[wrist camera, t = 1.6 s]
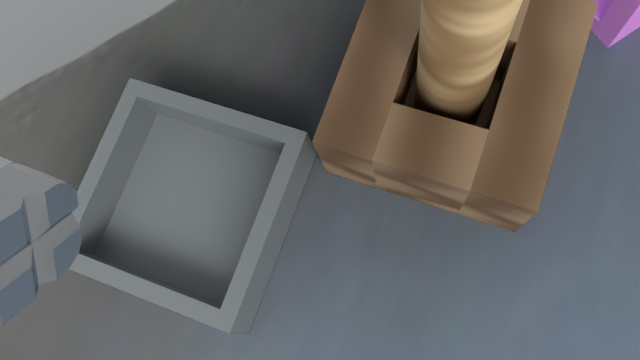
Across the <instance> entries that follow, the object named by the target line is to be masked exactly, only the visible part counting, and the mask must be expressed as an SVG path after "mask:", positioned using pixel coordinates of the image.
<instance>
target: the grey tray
mask: <svg viewBox="0 0 640 360" xmlns="http://www.w3.org/2000/svg"><path fill="white" fill-rule="evenodd" d="M316 155H317V151H316V149H315V147H314V145H313V143H312V141H311V139H310V137H309V135H308V133H307V132H305V131H302V130H299V129H295V128H292V127H289V126H286V125H282V124H279V123H276V122H273V121H269V120H266V119H263V118H259V117H256V116H253V115H250V114H246V113H243V112H240V111H237V110H233V109H230V108H227V107H224V106H220V105H217V104H214V103H211V102H207V101H204V100H201V99H197V98H194V97H191V96H188V95H184V94H181V93H178V92H175V91H171V90H168V89H165V88H162V87H158V86H155V85H152V84H149V83H145V82H142V81H139V80H135V79H132V78H129V80H128V83H127V85H126V87H125V89H124V91H123V93H122V96H121V98H120V100H119V102H118V104H117V106H116V109H115V111H114V113H113V115H112V117H111V119H110V122H109V124H108V126H107V128H106V130H105V132H104V135H103V137H102V139H101V141H100V143H99V145H98V148H97V150H96V152H95V154H94V156H93V158H92V161H91V163H90V165H89V167H88V169H87V171H86V174H85V176H84V178H83V180H82V182H81V184H80V187H79V189H78V191H77V198H78V204H79V206H78V207H77V208H76V209H75V210H74V211H73V212H72V214H73V216H74V217H75V219H76V220H77V222H78V223H79V225H80V227H81V235H82V241H81V246H80V250H79V253H78V255H77V257H76V258H75V260H74V262H73V263H72V265H71V267H70V268H69V269H70V270H73V271H75V272H78V273H80V274H83V275H85V276H88V277H90V278H93V279H95V280H98V281H100V282H103V283H105V284H107V285H110V286H112V287H115V288H117V289H120V290H122V291H125V292H127V293H130V294H132V295H135V296H137V297H140V298H142V299H145V300H147V301H150V302H152V303H155V304H157V305H160V306H162V307H164V308H167V309H169V310H172V311H174V312H177V313H179V314H182V315H184V316H187V317H189V318H192V319H194V320H197V321H199V322H202V323H204V324H207V325H209V326H212V327H214V328H217V329H219V330H221V331H224V332H226V333H229V334H237V333H249V332H250V329H251V327H252V324H253V321H254V319H255V316H256V313H257V311H258V308H259V305H260V303H261V300H262V298H263V295H264V292H265V290H266V287H267V284H268V282H269V279H270V276H271V274H272V271H273V268H274V266H275V263H276V260H277V258H278V255H279V253H280V250H281V247H282V245H283V242H284V239H285V237H286V234H287V231H288V229H289V226H290V223H291V221H292V218H293V215H294V213H295V210H296V208H297V205H298V202H299V200H300V197H301V194H302V192H303V189H304V186H305V184H306V181H307V178H308V176H309V173H310V170H311V168H312V165H313V163H314V160H315V157H316Z"/></svg>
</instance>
